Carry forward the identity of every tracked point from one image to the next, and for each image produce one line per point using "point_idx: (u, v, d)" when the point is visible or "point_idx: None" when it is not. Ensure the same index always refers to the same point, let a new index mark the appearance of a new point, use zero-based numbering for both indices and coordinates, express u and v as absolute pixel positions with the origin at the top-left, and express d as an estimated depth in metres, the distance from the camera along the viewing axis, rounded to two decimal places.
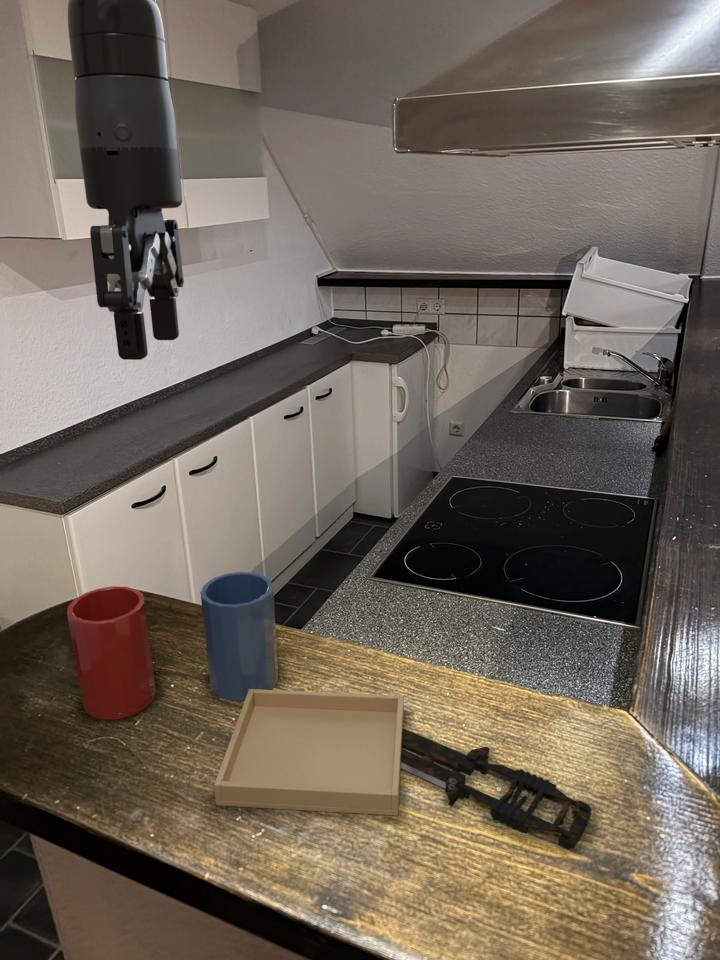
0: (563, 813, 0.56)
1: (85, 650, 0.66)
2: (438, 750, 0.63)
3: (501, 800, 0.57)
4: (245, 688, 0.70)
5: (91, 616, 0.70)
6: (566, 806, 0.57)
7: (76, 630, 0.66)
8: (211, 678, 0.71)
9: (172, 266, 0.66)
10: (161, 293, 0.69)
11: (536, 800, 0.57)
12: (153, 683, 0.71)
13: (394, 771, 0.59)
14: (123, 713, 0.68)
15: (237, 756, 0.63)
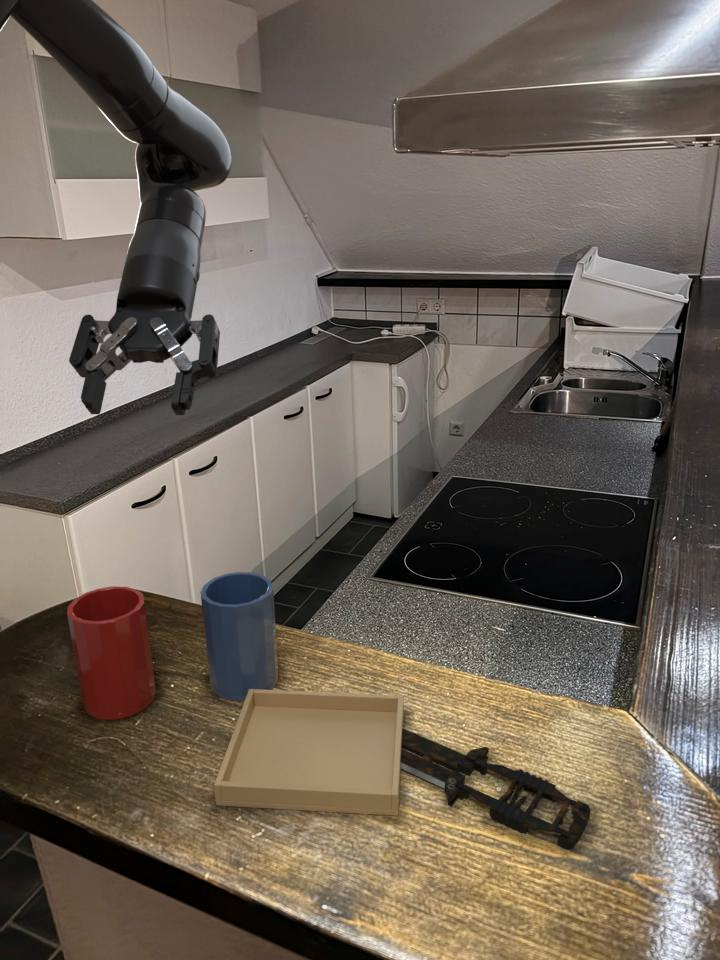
0: (562, 813, 0.56)
1: (85, 650, 0.66)
2: (437, 750, 0.63)
3: (501, 800, 0.57)
4: (245, 688, 0.70)
5: (91, 616, 0.70)
6: (565, 806, 0.57)
7: (76, 630, 0.66)
8: (211, 678, 0.71)
9: None
10: (101, 373, 0.75)
11: (535, 800, 0.57)
12: (153, 683, 0.71)
13: (394, 771, 0.59)
14: (123, 713, 0.68)
15: (237, 756, 0.63)
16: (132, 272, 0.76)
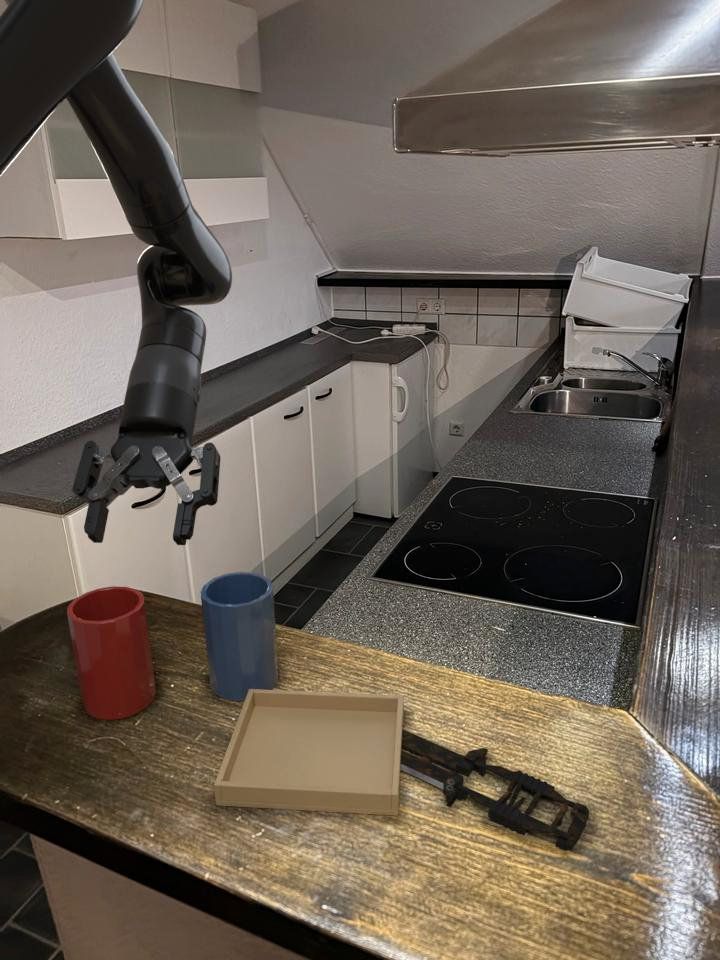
0: (561, 815, 0.56)
1: (85, 650, 0.66)
2: (436, 751, 0.63)
3: (499, 801, 0.57)
4: (245, 688, 0.70)
5: (91, 616, 0.70)
6: (564, 807, 0.57)
7: (76, 630, 0.66)
8: (211, 678, 0.71)
9: None
10: (104, 501, 0.77)
11: (534, 801, 0.57)
12: (153, 683, 0.71)
13: (394, 771, 0.59)
14: (123, 713, 0.68)
15: (237, 756, 0.63)
16: (134, 401, 0.77)
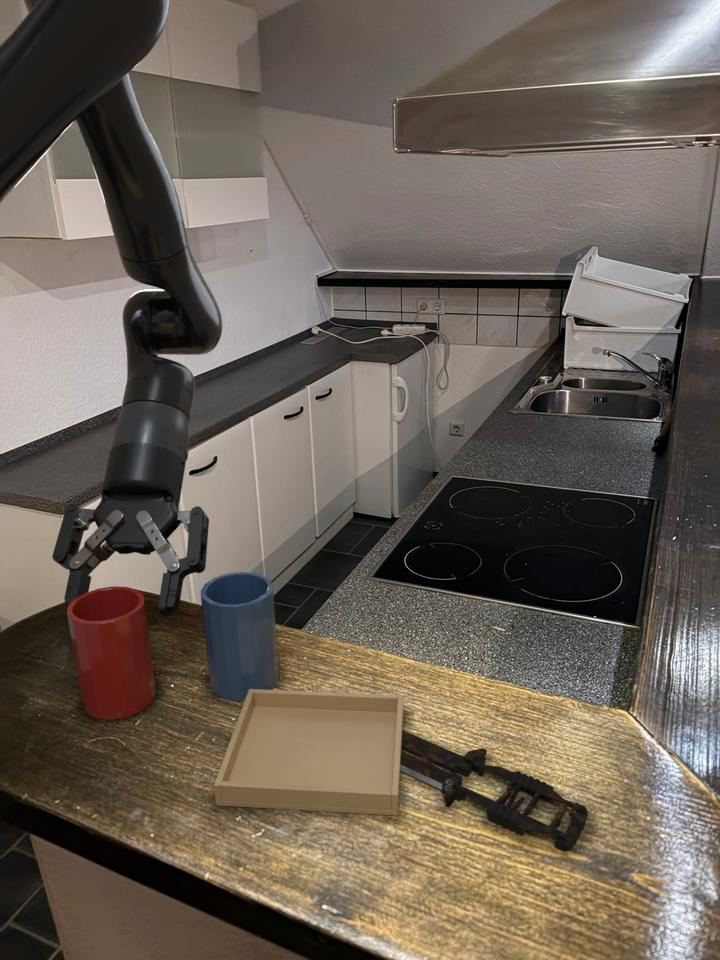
0: (560, 815, 0.56)
1: (85, 650, 0.66)
2: (435, 751, 0.63)
3: (498, 801, 0.57)
4: (245, 688, 0.70)
5: (91, 616, 0.70)
6: (563, 807, 0.57)
7: (76, 630, 0.66)
8: (211, 678, 0.71)
9: None
10: (86, 569, 0.73)
11: (533, 802, 0.57)
12: (153, 683, 0.71)
13: (394, 771, 0.59)
14: (123, 713, 0.68)
15: (237, 756, 0.63)
16: (118, 462, 0.73)
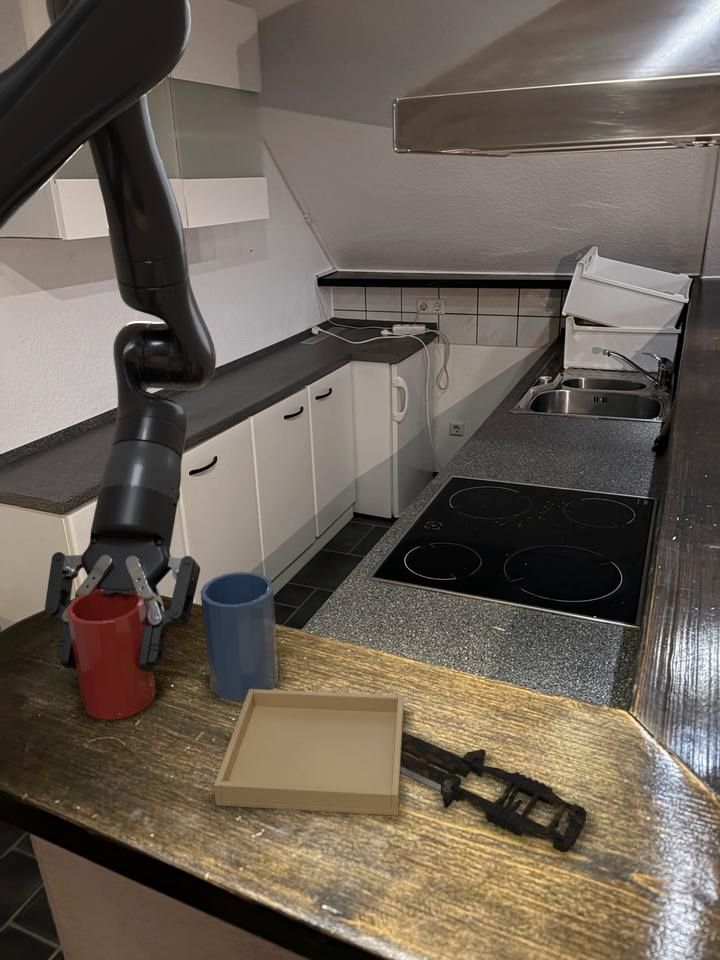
0: (558, 816, 0.56)
1: (85, 650, 0.66)
2: (434, 752, 0.63)
3: (496, 803, 0.57)
4: (245, 688, 0.70)
5: (91, 616, 0.70)
6: (561, 809, 0.57)
7: (76, 630, 0.66)
8: (211, 678, 0.71)
9: None
10: None
11: (531, 803, 0.57)
12: (153, 683, 0.71)
13: (394, 771, 0.59)
14: (123, 713, 0.68)
15: (237, 756, 0.63)
16: (107, 506, 0.71)
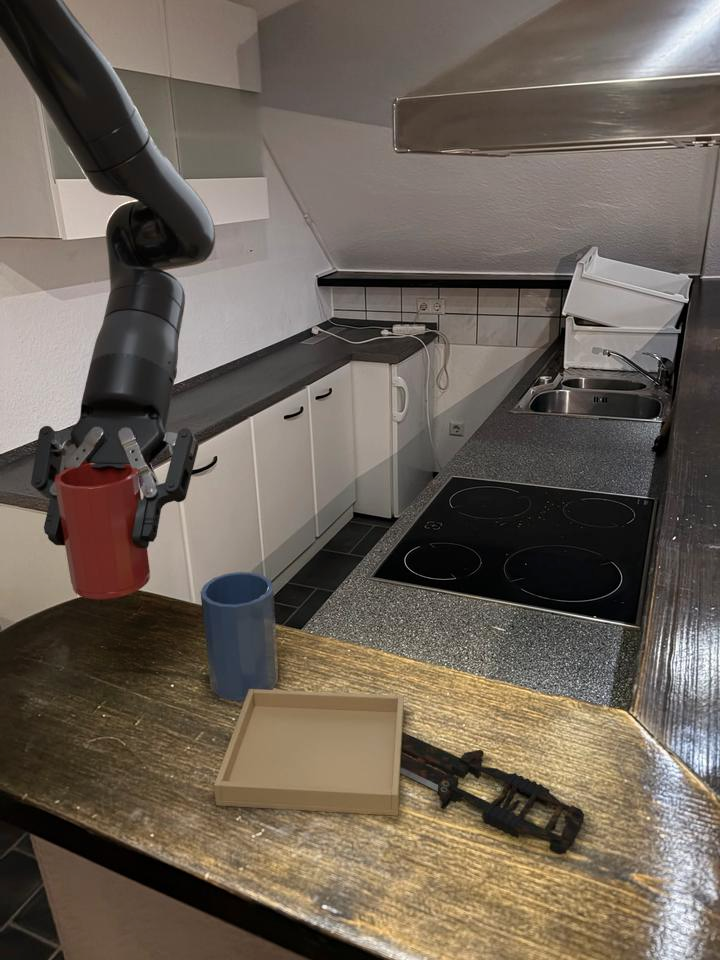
0: (555, 818, 0.56)
1: (74, 520, 0.61)
2: (432, 752, 0.63)
3: (493, 803, 0.57)
4: (245, 688, 0.70)
5: None
6: (559, 810, 0.57)
7: (64, 497, 0.61)
8: (211, 678, 0.71)
9: None
10: None
11: (528, 804, 0.57)
12: (147, 565, 0.66)
13: (394, 771, 0.59)
14: (115, 593, 0.64)
15: (237, 756, 0.63)
16: (98, 375, 0.66)
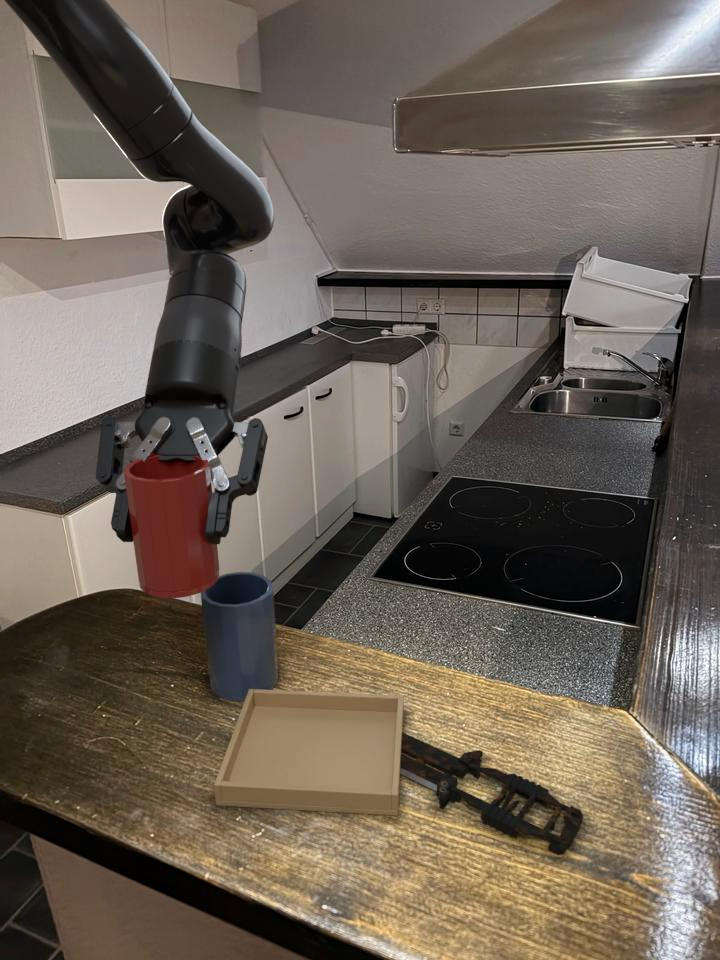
0: (554, 818, 0.56)
1: (145, 514, 0.58)
2: (431, 752, 0.63)
3: (492, 804, 0.57)
4: (245, 688, 0.70)
5: None
6: (558, 811, 0.56)
7: (135, 491, 0.58)
8: (211, 678, 0.71)
9: None
10: None
11: (527, 805, 0.57)
12: (217, 561, 0.63)
13: (394, 771, 0.59)
14: (187, 591, 0.61)
15: (237, 756, 0.63)
16: (164, 363, 0.63)
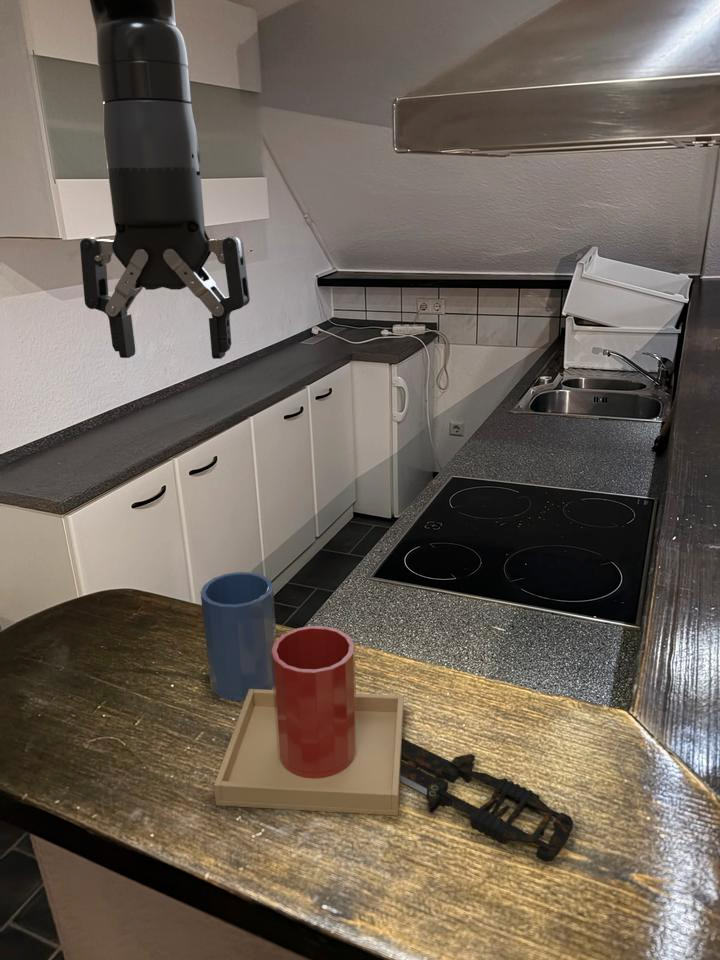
0: (543, 825, 0.55)
1: (296, 701, 0.58)
2: (423, 756, 0.63)
3: (481, 809, 0.57)
4: (245, 688, 0.70)
5: (287, 660, 0.63)
6: (547, 817, 0.56)
7: (287, 679, 0.58)
8: (211, 678, 0.71)
9: None
10: (123, 310, 0.68)
11: (517, 810, 0.56)
12: (356, 735, 0.63)
13: (394, 771, 0.59)
14: (331, 771, 0.60)
15: (237, 756, 0.63)
16: (125, 195, 0.61)
